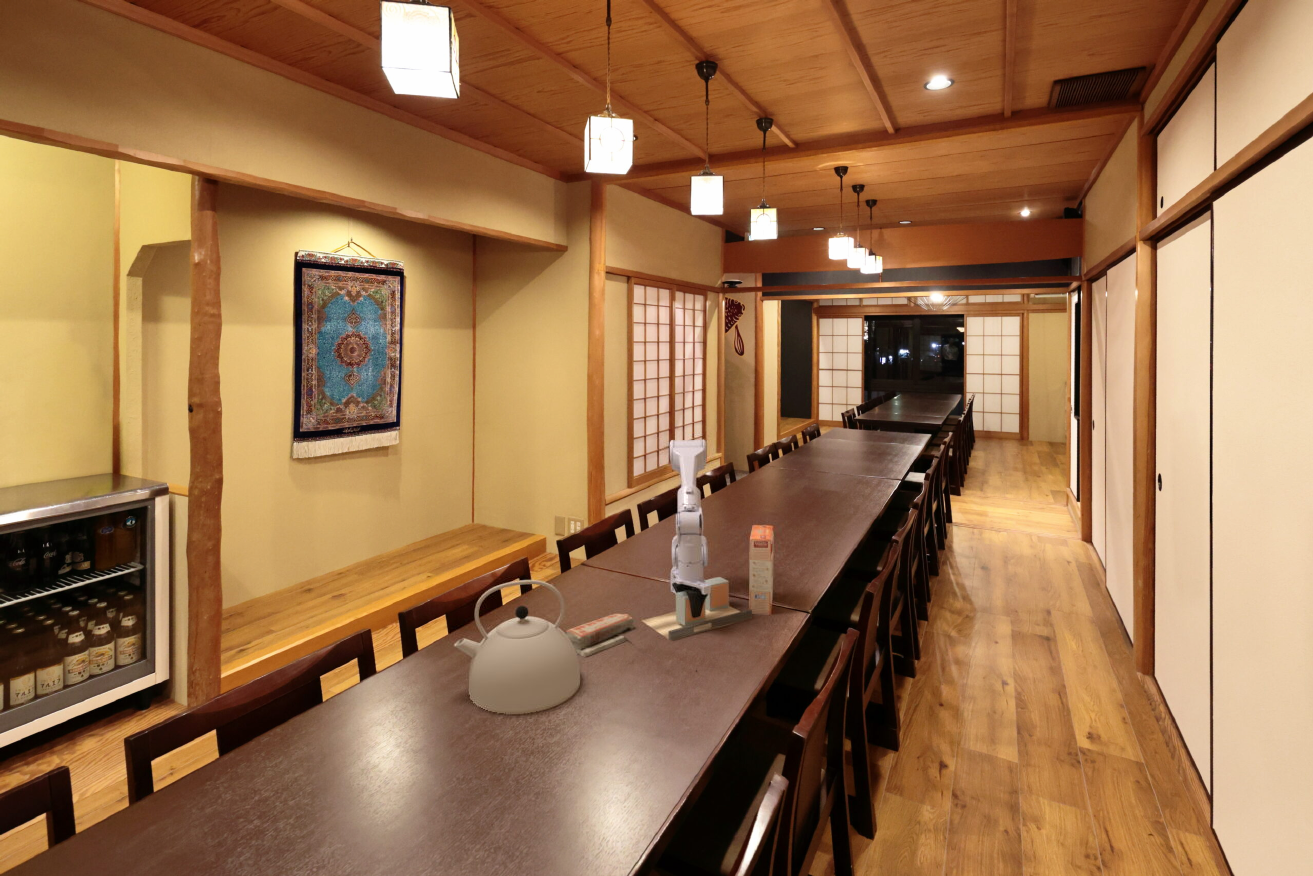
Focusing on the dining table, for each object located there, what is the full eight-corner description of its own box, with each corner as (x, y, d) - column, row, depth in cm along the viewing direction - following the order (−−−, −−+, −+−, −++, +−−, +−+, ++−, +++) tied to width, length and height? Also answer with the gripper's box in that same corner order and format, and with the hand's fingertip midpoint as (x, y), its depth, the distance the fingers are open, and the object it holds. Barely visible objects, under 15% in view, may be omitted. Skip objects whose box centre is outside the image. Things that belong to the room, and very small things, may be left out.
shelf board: (641, 625, 168) (640, 612, 168) (719, 604, 180) (719, 593, 180) (670, 645, 156) (670, 632, 156) (752, 622, 168) (752, 610, 168)
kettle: (454, 724, 125) (447, 609, 122) (458, 669, 147) (452, 570, 144) (588, 704, 131) (584, 593, 128) (573, 654, 153) (569, 558, 150)
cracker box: (772, 619, 170) (772, 539, 167) (748, 618, 171) (748, 538, 169) (774, 599, 184) (774, 524, 181) (751, 597, 185) (751, 523, 182)
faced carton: (701, 606, 176) (700, 581, 175) (719, 602, 179) (719, 576, 178) (710, 612, 172) (710, 585, 172) (729, 607, 176) (729, 581, 175)
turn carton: (676, 620, 165) (675, 593, 164) (696, 615, 168) (696, 588, 167) (685, 626, 162) (685, 598, 161) (706, 620, 165) (705, 593, 164)
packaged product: (583, 639, 150) (557, 627, 158) (584, 660, 151) (558, 646, 158) (643, 616, 162) (617, 606, 170) (644, 635, 163) (617, 624, 170)
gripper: (660, 555, 167) (661, 607, 169) (692, 571, 155) (693, 627, 156) (684, 550, 171) (685, 601, 172) (717, 565, 158) (718, 620, 160)
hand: (690, 613), depth 165 cm, fingers closed on turn carton, 4 cm apart
